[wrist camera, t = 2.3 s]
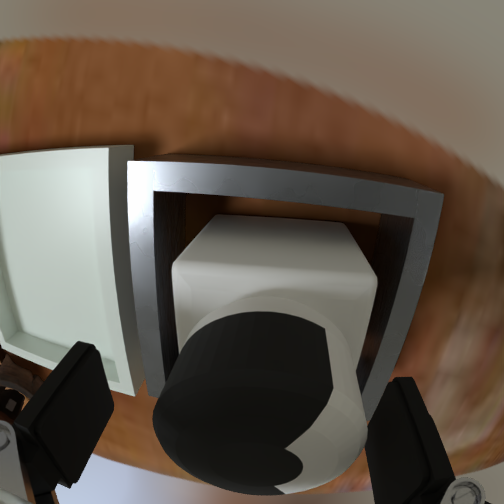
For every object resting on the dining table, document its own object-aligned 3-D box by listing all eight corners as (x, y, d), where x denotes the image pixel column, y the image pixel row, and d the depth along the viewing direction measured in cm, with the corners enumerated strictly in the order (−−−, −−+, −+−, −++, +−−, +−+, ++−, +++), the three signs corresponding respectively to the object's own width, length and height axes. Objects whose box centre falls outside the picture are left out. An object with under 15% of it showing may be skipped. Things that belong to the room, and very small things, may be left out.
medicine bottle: (215, 324, 20) (151, 494, 8) (213, 212, 17) (94, 346, 6) (329, 333, 19) (351, 513, 8) (346, 221, 17) (436, 375, 5)
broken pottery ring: (-10, 312, 24) (-33, 358, 17) (67, 341, 29) (63, 394, 21) (-15, 390, 25) (-27, 438, 18) (51, 413, 30) (50, 463, 23)
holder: (407, 178, 15) (444, 194, 11) (359, 372, 20) (370, 420, 16) (166, 153, 16) (127, 161, 12) (171, 351, 21) (148, 395, 17)
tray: (133, 144, 16) (108, 147, 14) (148, 371, 22) (135, 396, 19) (-12, 156, 17) (-37, 161, 15) (19, 332, 23) (2, 348, 20)
